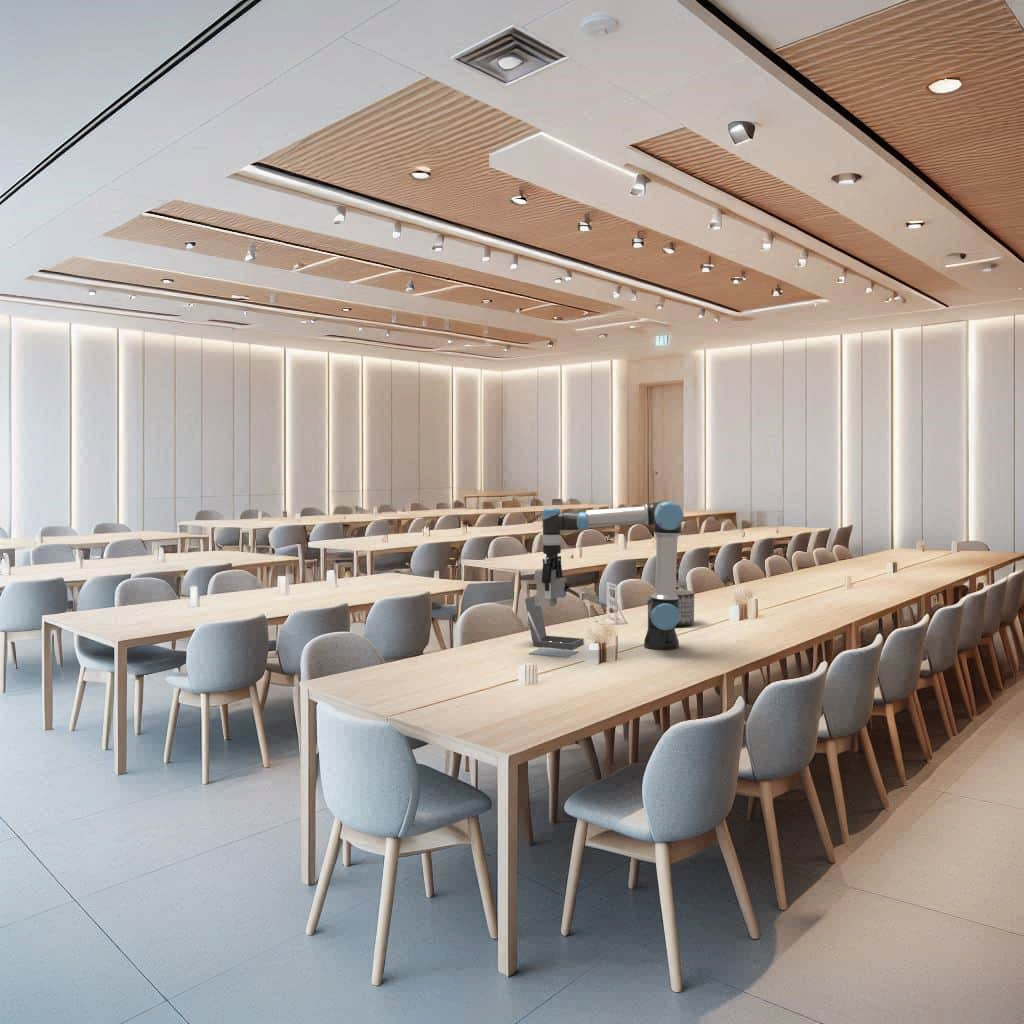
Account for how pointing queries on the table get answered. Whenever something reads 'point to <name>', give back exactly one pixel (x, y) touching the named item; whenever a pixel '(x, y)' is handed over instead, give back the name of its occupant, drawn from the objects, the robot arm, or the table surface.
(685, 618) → the planter
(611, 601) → the film strip holder
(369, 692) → the table surface
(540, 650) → the mat
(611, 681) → the table surface
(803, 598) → the table surface
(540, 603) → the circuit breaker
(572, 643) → the case
